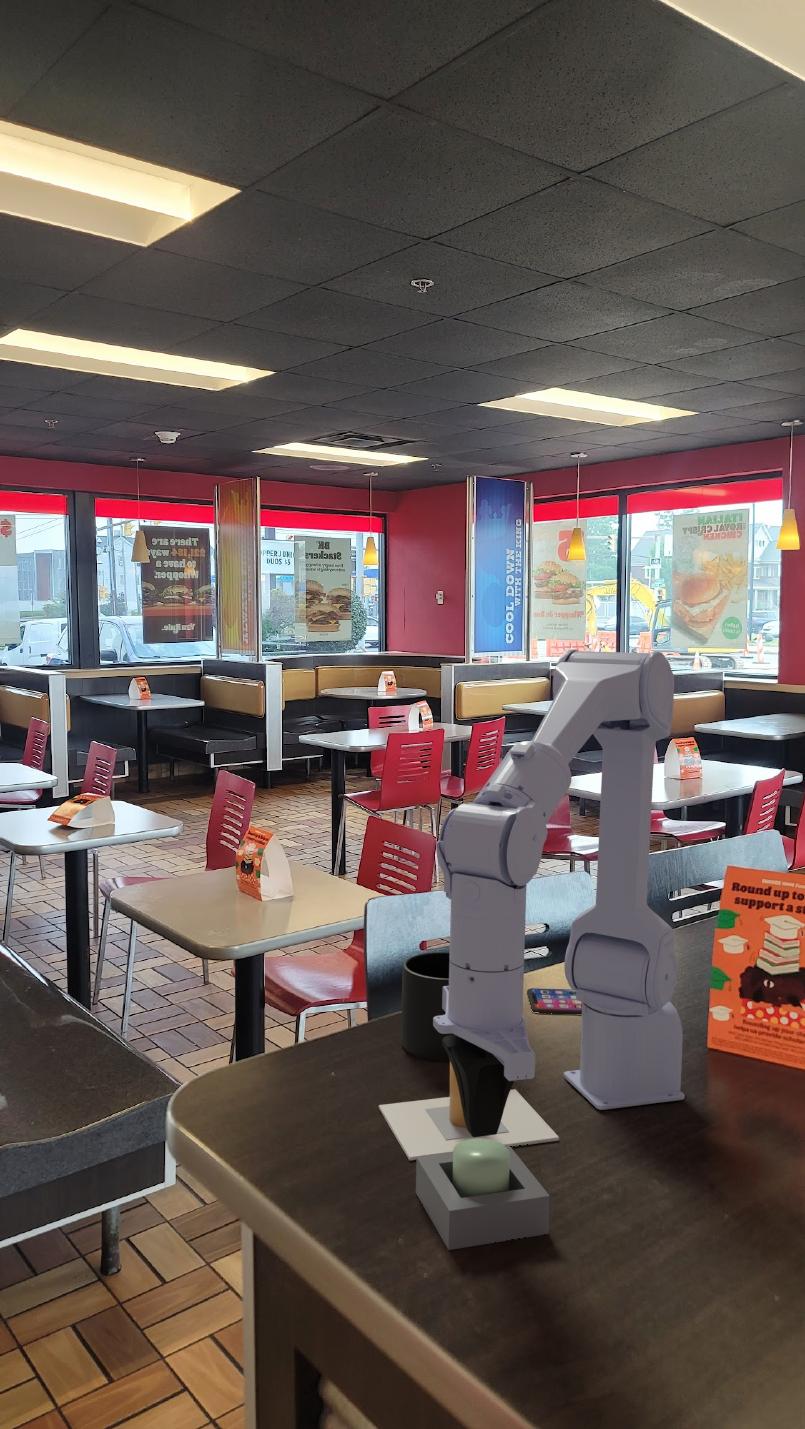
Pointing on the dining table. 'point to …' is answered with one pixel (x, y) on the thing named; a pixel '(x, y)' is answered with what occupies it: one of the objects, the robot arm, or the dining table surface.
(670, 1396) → the dining table surface
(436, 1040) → the mug
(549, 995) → the smartphone
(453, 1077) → the bottle
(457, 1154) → the button
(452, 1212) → the button housing
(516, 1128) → the paper
